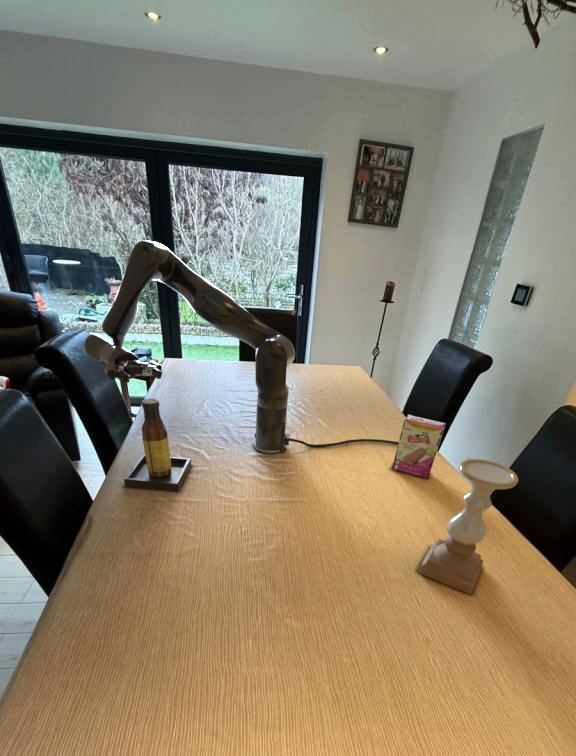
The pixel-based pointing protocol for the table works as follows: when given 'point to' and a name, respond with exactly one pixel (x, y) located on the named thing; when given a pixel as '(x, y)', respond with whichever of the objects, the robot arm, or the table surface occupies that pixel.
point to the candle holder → (467, 527)
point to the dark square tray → (171, 482)
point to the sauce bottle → (155, 440)
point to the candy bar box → (418, 446)
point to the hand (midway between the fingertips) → (144, 376)
